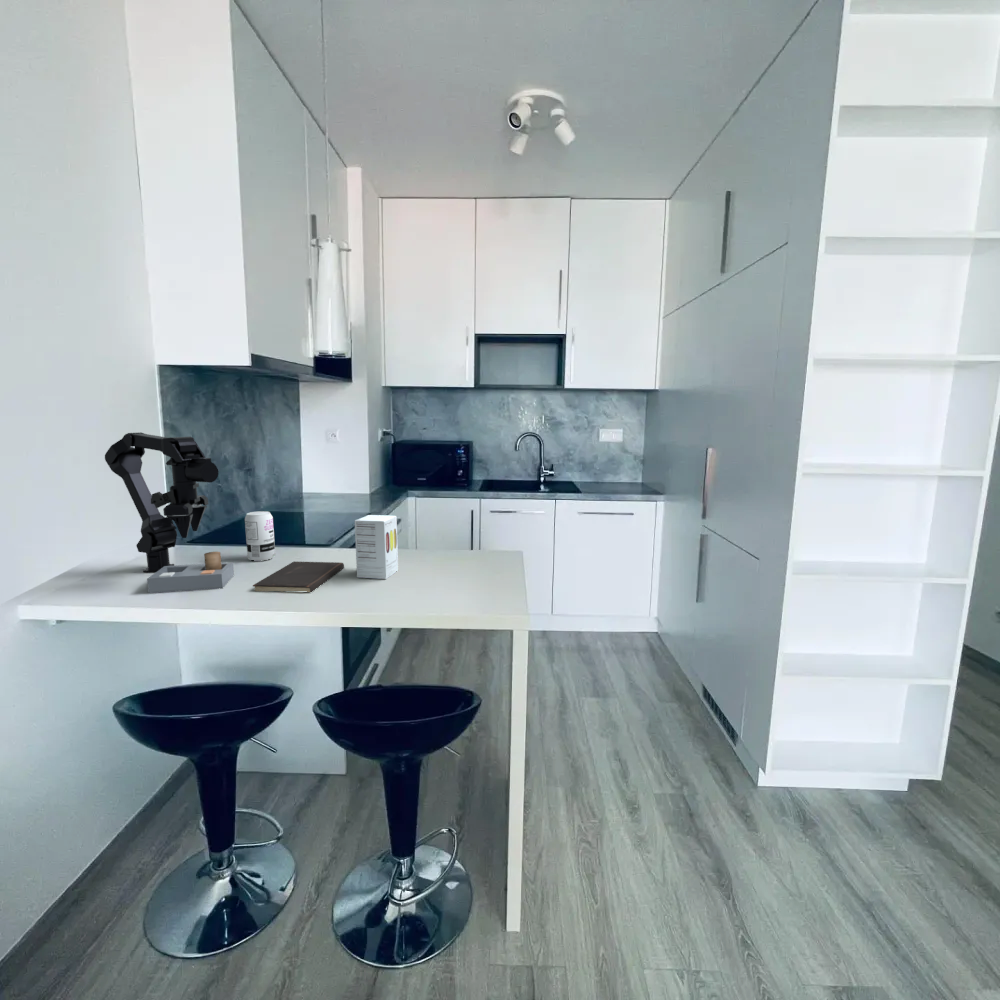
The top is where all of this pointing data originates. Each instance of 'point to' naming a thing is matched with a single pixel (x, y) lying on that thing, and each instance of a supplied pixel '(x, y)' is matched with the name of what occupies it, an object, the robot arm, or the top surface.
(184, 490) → the robot arm
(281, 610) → the top surface
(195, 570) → the socket block
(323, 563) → the hardcover book
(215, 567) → the walnut peg
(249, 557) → the supplement can
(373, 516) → the supplement box
